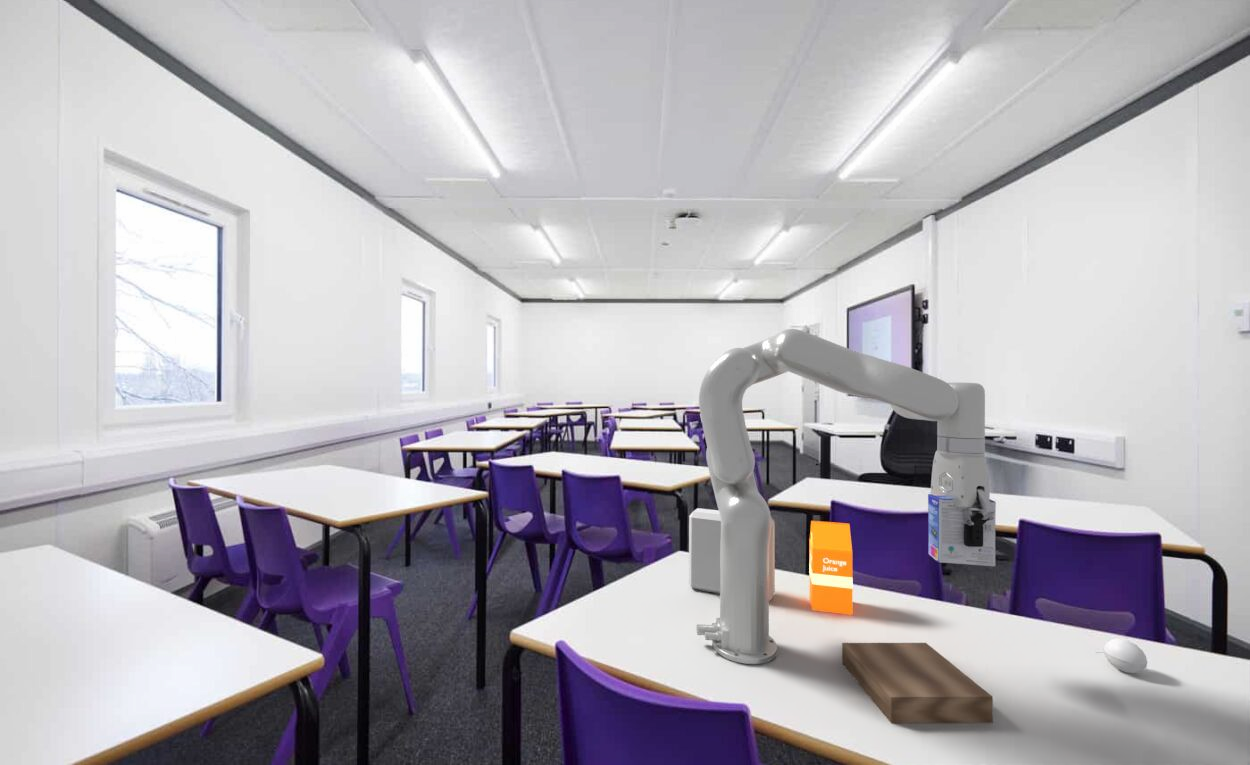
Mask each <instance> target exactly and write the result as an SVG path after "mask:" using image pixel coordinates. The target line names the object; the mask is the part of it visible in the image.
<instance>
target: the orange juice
mask: <svg viewBox="0 0 1250 765" xmlns="http://www.w3.org/2000/svg"><path fill="white" fill-rule="evenodd" d="M852 545H853V544H852V536H851V526H850V523H845V522H834V521H832V522H831V521H820V520H811V521H810V533H809V563H808V564H809V565H808V566H809V568H808V569H809V571H808V573H809V590H808V591H809V600H810V606H811V609H812V611H821V612H828V613H829V612H830V613H834V614H835V613H836V614H844V615H851V616H852V615H853V590H854V588H853V587H854V586H853V585H854V584H853V582H854V580H853V577H854V576H853V546H852Z"/></svg>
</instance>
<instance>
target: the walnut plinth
mask: <svg viewBox="0 0 1250 765" xmlns="http://www.w3.org/2000/svg"><path fill="white" fill-rule="evenodd" d="M841 645H842V646H841V647H842V648H841V651H842V652H841V655H842V656H841V657H842V658H841V660H842V661H841V665H842V666H843V667H844V668H845V669H846V670H847V672H848V673H849V675H851V677H852V678H853V679H854V680H855V681H856V683H857V684H858V685H859V686H860V688H861V689H862V690H863V691H864V692H865V694H867V695H868V697H869V698H870V700H871V701H872V702H873V703H874V704H875V705H876V707H877V708H878V709H879V710H880V711H881V713H882V714H883V715H884V716H885V717H886V719H887V720H888V721H889V722H890V724H949V723H950V724H953V723H955V724H961V723H962V724H971V723H972V724H973V723H975V724H978V723H982V724H983V723H984V724H985V723H986V724H987V723H988V724H989V722H991V723H992V724H993V722H994V720H993V719H994V718H993V717H994V716H993V715H994V714H993V709H994V708H993V701H994V700H993V695H991V694H990V693H989V692H988V691H986V690H985V689H983V687H981V686H980V685H979V684H978V683H977V682H975V681H974V680H973V679H971V677H969V676H968V675H967V674H965V673H964V672H963V671H961V669H959V668H958V667H956V666H955V665H954V664H953V663H952V662H950V661H949V660H948V659H947V658H946V657H944V656H943V655H942V654H940V653H939V652H938V651H937V650H936V649H935V648H934V647H932V646H930V645H929V644H928V643H927V642H841Z"/></svg>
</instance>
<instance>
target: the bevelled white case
mask: <svg viewBox="0 0 1250 765" xmlns="http://www.w3.org/2000/svg"><path fill="white" fill-rule="evenodd" d="M688 518H689V520H688V522H689V524H688V585H689V586H690V587H691V589H693V590H697V589H698V591H702V590H703V592H708V593H709V592H710V593H713V594H714V593H715V594H719V595H720V544H721V517H720V513H719V510H717V509H709V508H700V507H699V508H698V507H697V508H695V509H694V510H692V512H691V513H690V514H689V515H688ZM775 523H776V522H775V520H774V519H773V517H772V516H771V534H770V544H769V602H770V601H772V600H773V598H774V595H775V590H776V588H775V586H776V585H775V576H776V575H775V571H776V570H775V569H776V567H775V561H776V560H775V558H776V556H775V547H776V545H775V544H776V542H775V541H776V540H775V538H776V537H775V536H776V535H775V534H776V531H775V530H776V527H775V526H776V524H775Z"/></svg>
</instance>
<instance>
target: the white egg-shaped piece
mask: <svg viewBox="0 0 1250 765" xmlns="http://www.w3.org/2000/svg"><path fill="white" fill-rule="evenodd" d="M1103 653H1104V657H1105V658H1106V660H1107V661H1108V662H1109V663H1110V664H1111V665H1112V666H1113V667H1114V668H1116V669H1118V670H1119V671H1122V672H1123V673H1126V674H1139V673H1142V672H1144V671H1145V669H1146V668H1147V666H1148V658H1147V656H1146V654H1145V652H1144V651H1143V649H1141V648H1140V647H1139V646H1138V645H1137V644H1136V643H1134V642H1132V641H1129V640H1128V639H1124V638H1112V639H1110V640H1108V641H1107V642H1106V643H1105V644H1104V648H1103V651H1102V652H1095V654H1103Z"/></svg>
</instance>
